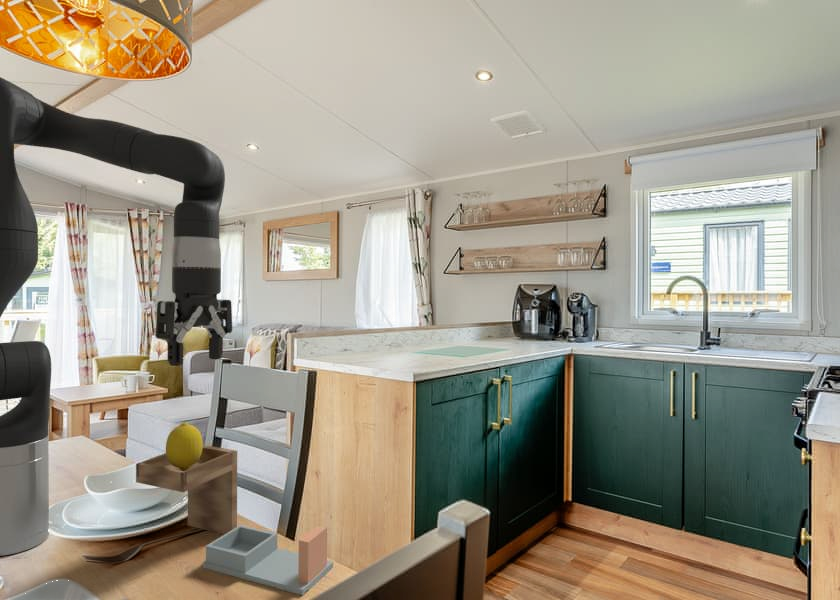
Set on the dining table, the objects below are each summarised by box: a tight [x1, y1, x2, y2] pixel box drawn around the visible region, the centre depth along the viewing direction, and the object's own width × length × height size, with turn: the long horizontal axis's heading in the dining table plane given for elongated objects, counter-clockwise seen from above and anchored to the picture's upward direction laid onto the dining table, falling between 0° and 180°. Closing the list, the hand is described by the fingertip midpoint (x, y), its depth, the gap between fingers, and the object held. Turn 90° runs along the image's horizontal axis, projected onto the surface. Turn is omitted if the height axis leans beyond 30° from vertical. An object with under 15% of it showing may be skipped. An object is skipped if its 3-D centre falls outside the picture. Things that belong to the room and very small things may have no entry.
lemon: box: [165, 422, 204, 471], centre depth 85 cm, size 6×6×8 cm
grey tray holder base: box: [202, 525, 334, 596], centre depth 80 cm, size 18×8×7 cm, turn 68°
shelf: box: [135, 444, 238, 535], centre depth 87 cm, size 10×12×14 cm
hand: (196, 362), depth 87 cm, fingers open, 8 cm apart
